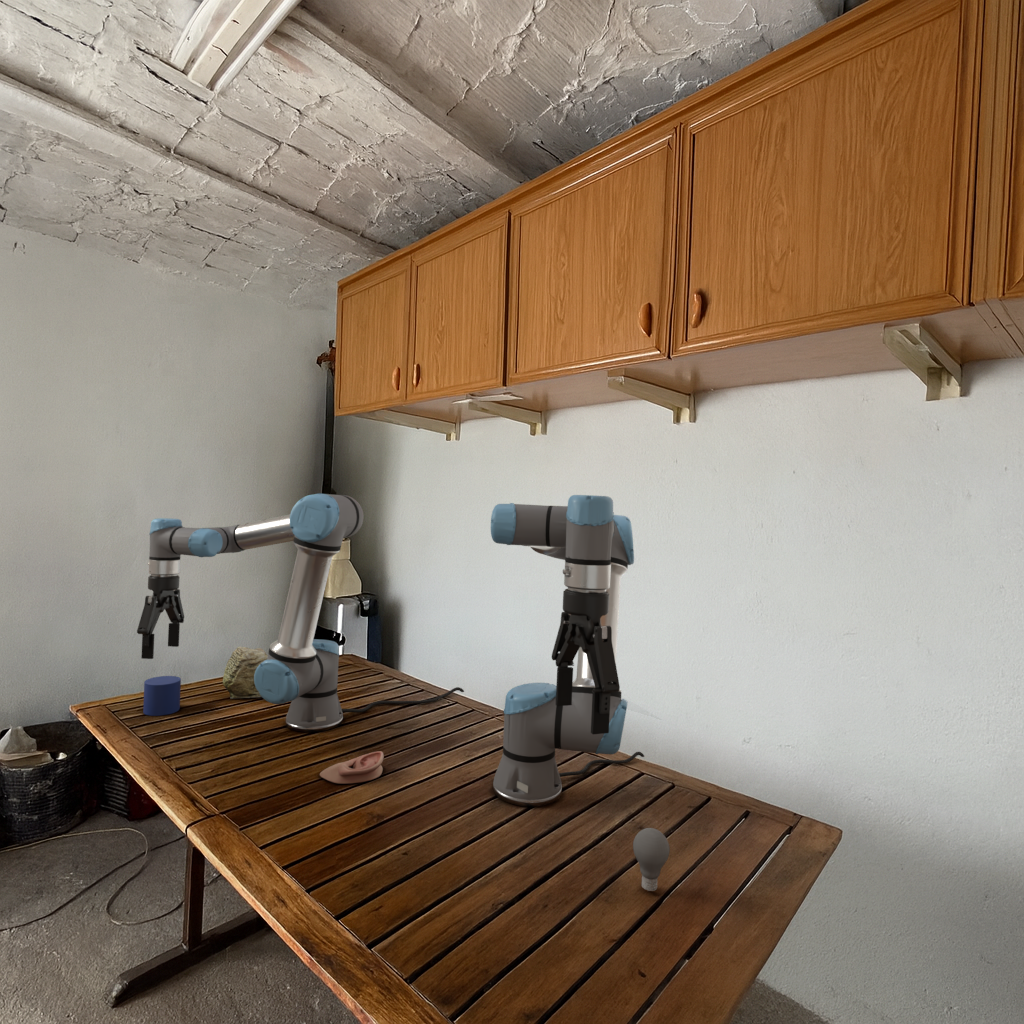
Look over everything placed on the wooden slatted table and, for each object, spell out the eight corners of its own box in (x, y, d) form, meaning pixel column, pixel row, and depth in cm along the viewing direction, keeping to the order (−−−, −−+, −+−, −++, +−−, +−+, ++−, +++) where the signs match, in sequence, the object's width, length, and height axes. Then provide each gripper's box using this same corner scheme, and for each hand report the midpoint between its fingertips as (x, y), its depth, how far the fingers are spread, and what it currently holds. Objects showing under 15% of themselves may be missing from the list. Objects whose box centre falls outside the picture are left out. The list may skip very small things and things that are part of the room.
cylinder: (150, 705, 185) (151, 675, 184) (184, 704, 186) (185, 675, 186) (138, 716, 176) (139, 685, 175) (173, 715, 177) (174, 684, 177)
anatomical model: (313, 762, 141) (337, 743, 152) (312, 780, 141) (337, 759, 152) (369, 770, 138) (389, 750, 149) (368, 788, 138) (389, 767, 149)
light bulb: (627, 878, 109) (629, 820, 109) (660, 878, 109) (663, 821, 109) (636, 900, 103) (639, 839, 103) (672, 900, 104) (675, 839, 103)
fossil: (218, 695, 195) (220, 647, 195) (278, 685, 208) (279, 640, 207) (228, 703, 189) (230, 653, 188) (289, 692, 201) (290, 645, 201)
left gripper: (173, 569, 185) (169, 641, 186) (123, 580, 160) (120, 663, 161) (199, 570, 185) (195, 642, 186) (153, 581, 161) (150, 664, 161)
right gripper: (537, 579, 114) (531, 696, 114) (601, 601, 91) (594, 749, 91) (574, 579, 117) (569, 694, 117) (647, 601, 93) (640, 744, 93)
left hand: (160, 652), depth 173 cm, fingers open, 13 cm apart
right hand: (580, 718), depth 104 cm, fingers open, 13 cm apart
